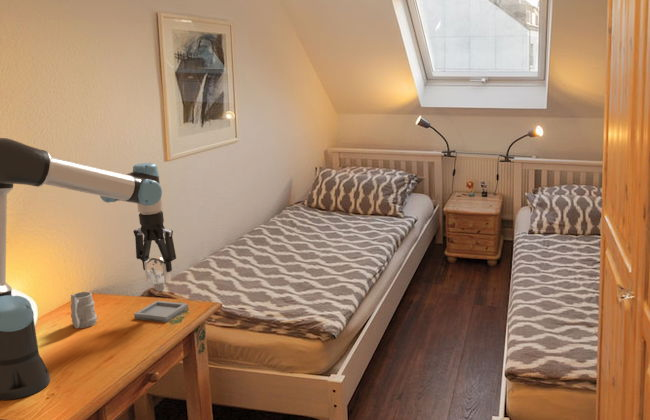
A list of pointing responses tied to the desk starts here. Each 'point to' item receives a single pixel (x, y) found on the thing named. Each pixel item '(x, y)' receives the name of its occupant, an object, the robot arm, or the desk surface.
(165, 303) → the dish
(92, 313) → the mug
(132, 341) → the desk surface
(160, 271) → the light bulb
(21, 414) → the desk surface
